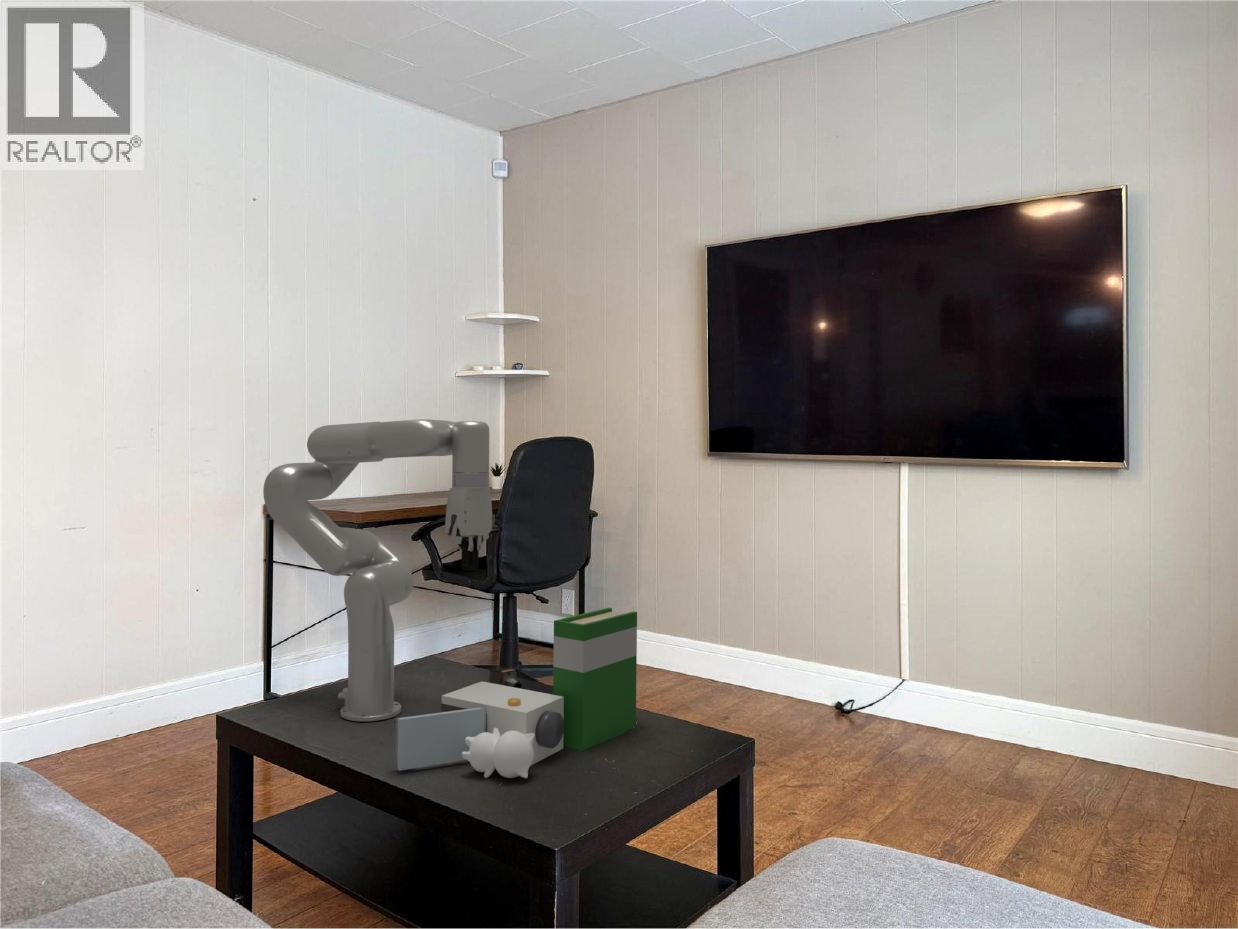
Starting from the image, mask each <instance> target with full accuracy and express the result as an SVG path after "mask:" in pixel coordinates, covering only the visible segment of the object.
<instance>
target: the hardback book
mask: <svg viewBox="0 0 1238 929" xmlns="http://www.w3.org/2000/svg"><path fill="white" fill-rule="evenodd" d="M637 637H638V611H630V612H626V613H619V612H613V608H612V607H605V608H601V609H596V610H592V611H589V612H584V613H581V614H577V615H573V616H572V615H571V616H568V617H563V618H560V619H559V618H558V619H554V620H553V658H552V659H553V662H552V663H553V667H552V668H553V671H552V673H553V674H552V675H553V676H552V678H553V679H552V681H553V682H552V683H553V684H552V685H553V686H552V695H557V696H563V697H564V731H563V747H565V746H566V747H565V748H569V749H572V750H573V749H574V750H576V749H577V750H576V751H581V752H584V751H586V750H588V748H589V749H591V748H593V747H596V746H598V745H599V743H600V744H602V743H604V742H606V741H605V740H607V739H609V740H611V739H613V738H612V737H614V736H616V737H617V736H620V735H622V734H621V733H623V732H625V733H627V732H629V731H628V730H629V729H632V728H633V727H635V726H636V727H637V724H636V723H637V667H638V666H637V662H638V661H637V658H638V656H637V653H638V651H637V650H638V648H637V646H638V638H637ZM632 730H633V729H632ZM626 731H627V732H626ZM619 734H620V735H619ZM623 734H624V733H623ZM610 738H611V739H610ZM614 738H615V737H614ZM607 741H608V740H607ZM597 744H598V745H597ZM592 746H593V747H592ZM590 747H591V748H590ZM585 749H586V750H585Z"/></svg>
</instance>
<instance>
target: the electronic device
mask: <svg viewBox="0 0 1238 929" xmlns="http://www.w3.org/2000/svg"><path fill="white" fill-rule="evenodd" d="M488 683H493V684H499V685H504V686H509V687H515V688H520V689H522V686H523V685H522V682H520V681H518V676H517V672H516V670H515V669H512V668H502V667H500V668H494V669H490V670H489V678H488Z"/></svg>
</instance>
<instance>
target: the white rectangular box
mask: <svg viewBox="0 0 1238 929" xmlns="http://www.w3.org/2000/svg"><path fill="white" fill-rule="evenodd" d="M440 707H441V708H440V710H441V712H449V711H456V710H464V709H472V708H479V707H486V732H488V733H493V729H494V728H497V729H498V731H499V733H500V736H501V735H502V734H504V733H505V732H508V731H518V732H520V733H522V734H529V733H533V734H535V738H534V741H533V751H534V757H533V761H532V763H531V765H530V767H532V766H533V765H534V764H536V763H538V762H541V761H542V760H545V759H546V758H548V757H550V756H552V755H554V754H555V753H558V752H559V751H561V749H562V750H563V749H564V746H563V731H564V697H563V696H557V695H553V693H552V694H550V693H547V692H546V693H545V692H542V691H541V692H540V691H535V690H530V689H524V688H521V689H520V688H515V687H509V686H504V685H499V684H493V683H489V681H488V682H487V681H478V682H476V683H473V684H470V685H468V686H464V687H462V688H460V689H457V690H454V691H451V692H447V693H445V694H442V695H441V706H440ZM441 712H440V713H441Z"/></svg>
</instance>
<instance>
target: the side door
mask: <svg viewBox="0 0 1238 929" xmlns="http://www.w3.org/2000/svg"><path fill="white" fill-rule="evenodd" d="M483 732H486V707H479V708H472V709H464V710H456V711H449V712H436V713H427V714H420V715H412V716H404V717H397V718H395V764H396V766H397V770H398V772H400V771H406V770H412V769H418V768H425V767H431V766H437V765H442V764H443V765H444V764H450V763H456V762H462V761H467V760H466V759H464V758H463V757H462V752H464V751H469V746H467V744H466V743H465V738H466V737H476V736H477V735H478V734H480V733H483Z"/></svg>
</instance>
